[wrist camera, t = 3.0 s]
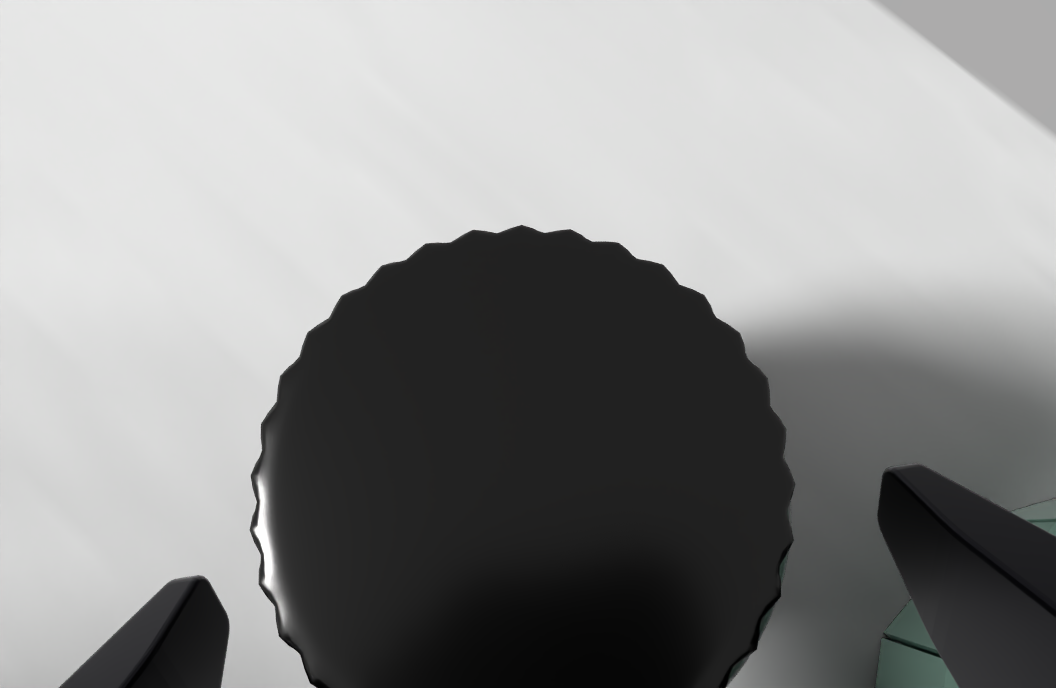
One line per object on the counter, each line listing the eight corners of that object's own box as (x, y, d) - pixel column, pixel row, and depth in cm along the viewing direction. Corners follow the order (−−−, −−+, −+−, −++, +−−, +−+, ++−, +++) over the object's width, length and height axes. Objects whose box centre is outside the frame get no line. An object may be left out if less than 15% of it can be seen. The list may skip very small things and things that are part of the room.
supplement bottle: (362, 494, 18) (-19, 428, 6) (563, 320, 19) (545, -13, 7) (541, 722, 16) (463, 1177, 5) (752, 521, 17) (1114, 503, 6)
